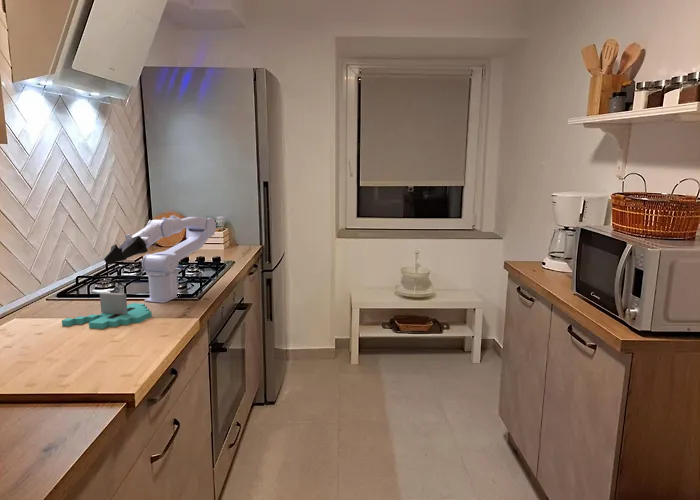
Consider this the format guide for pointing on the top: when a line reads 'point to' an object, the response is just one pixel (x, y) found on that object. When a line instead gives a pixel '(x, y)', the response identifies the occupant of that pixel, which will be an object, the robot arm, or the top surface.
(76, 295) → the top surface
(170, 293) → the robot arm
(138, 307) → the alien figure
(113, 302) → the tile
